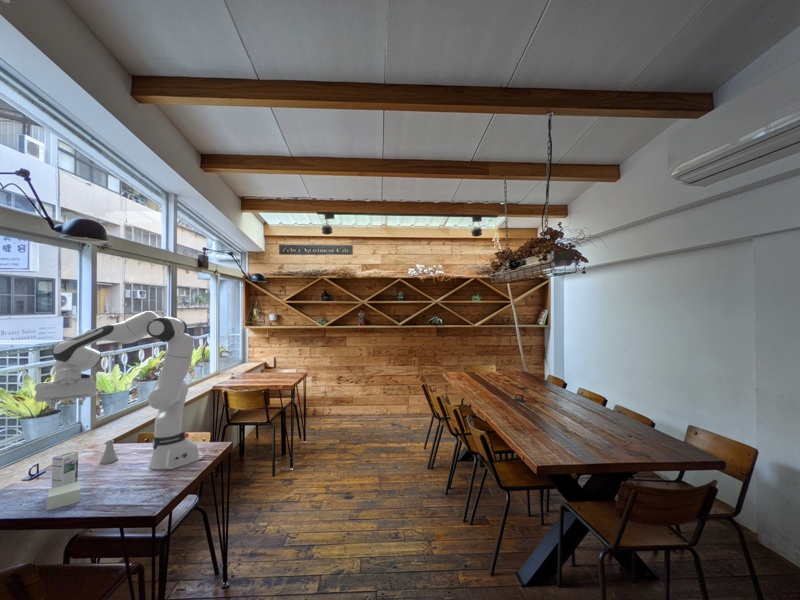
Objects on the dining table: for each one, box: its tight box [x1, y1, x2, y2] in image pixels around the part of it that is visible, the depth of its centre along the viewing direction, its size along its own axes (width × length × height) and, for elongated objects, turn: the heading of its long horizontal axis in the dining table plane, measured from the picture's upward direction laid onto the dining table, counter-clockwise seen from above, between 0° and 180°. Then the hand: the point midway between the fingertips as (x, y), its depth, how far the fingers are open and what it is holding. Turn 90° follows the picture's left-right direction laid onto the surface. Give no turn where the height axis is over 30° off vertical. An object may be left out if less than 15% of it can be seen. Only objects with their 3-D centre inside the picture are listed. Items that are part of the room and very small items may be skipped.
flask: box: [99, 439, 119, 465], centre depth 170 cm, size 7×7×10 cm
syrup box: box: [51, 451, 79, 488], centre depth 142 cm, size 6×6×14 cm
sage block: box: [46, 481, 82, 511], centre depth 133 cm, size 9×9×5 cm
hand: (66, 406), depth 153 cm, fingers open, 8 cm apart
